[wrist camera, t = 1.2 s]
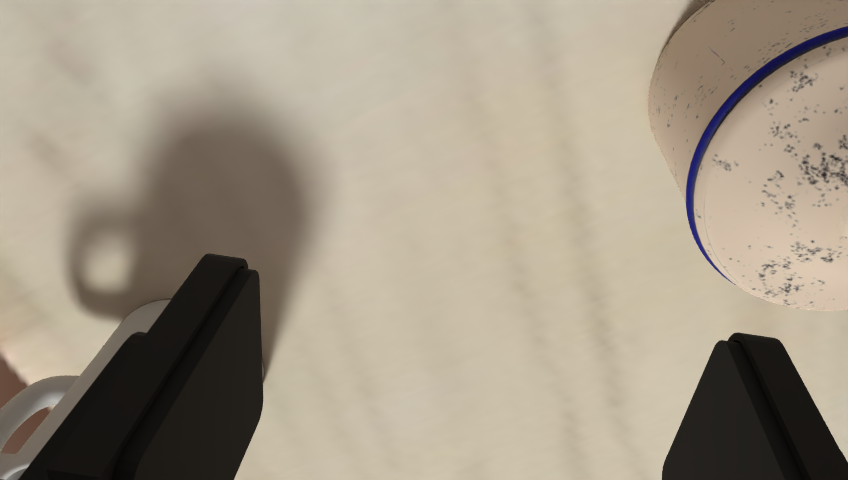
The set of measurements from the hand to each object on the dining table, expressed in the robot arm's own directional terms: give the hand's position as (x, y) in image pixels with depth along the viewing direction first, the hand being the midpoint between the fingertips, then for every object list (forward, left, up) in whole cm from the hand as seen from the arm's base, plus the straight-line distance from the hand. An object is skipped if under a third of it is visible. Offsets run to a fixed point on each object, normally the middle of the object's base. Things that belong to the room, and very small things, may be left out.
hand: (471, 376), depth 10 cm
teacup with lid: (0, +12, -20) cm, 23 cm away
